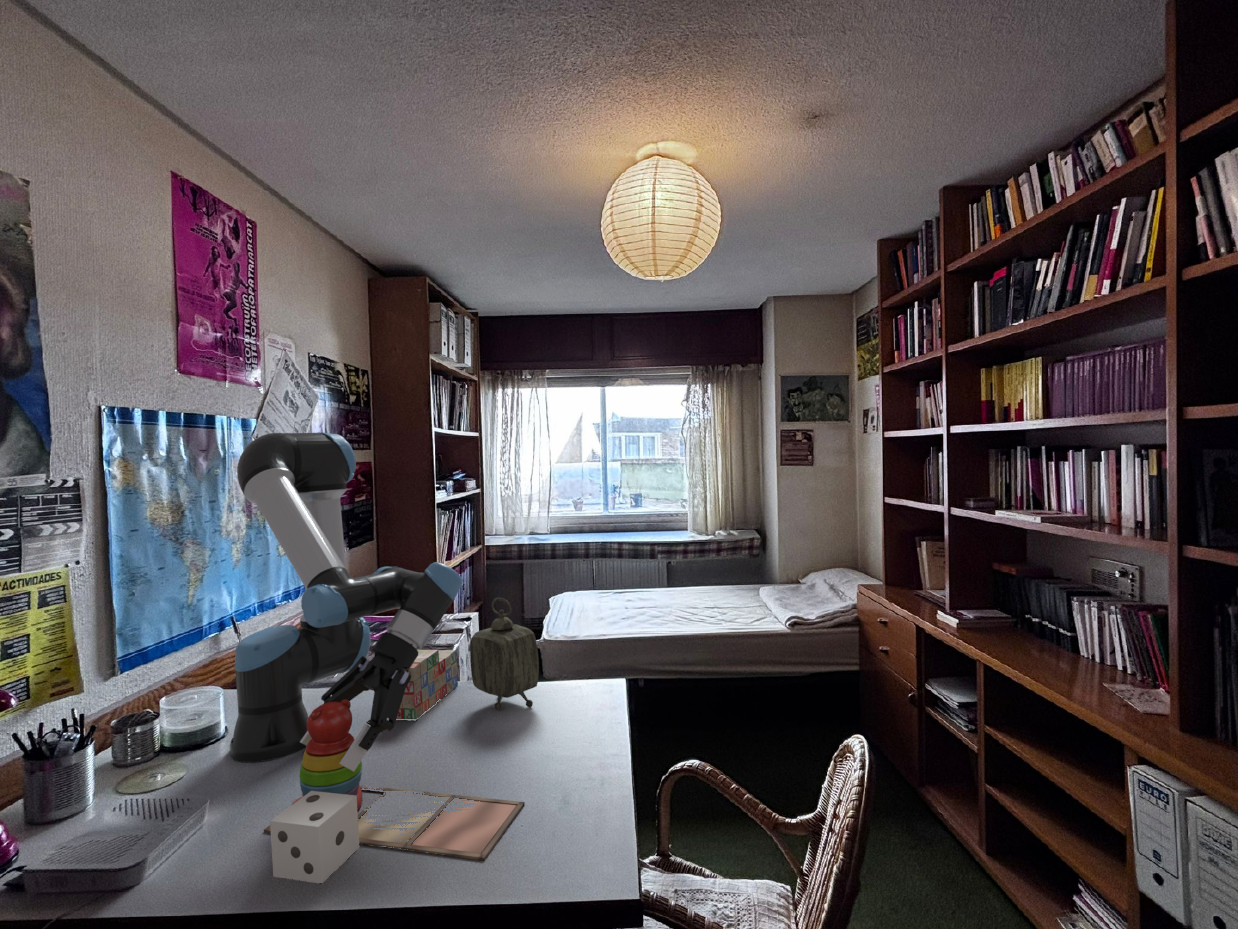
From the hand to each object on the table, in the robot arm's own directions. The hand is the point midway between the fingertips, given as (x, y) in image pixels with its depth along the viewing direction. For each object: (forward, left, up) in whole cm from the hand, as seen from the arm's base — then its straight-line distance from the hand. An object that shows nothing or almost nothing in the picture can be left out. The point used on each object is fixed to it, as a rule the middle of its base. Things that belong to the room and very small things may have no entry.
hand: (325, 756), depth 104 cm
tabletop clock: (+10, +46, -10) cm, 48 cm away
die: (+7, -11, -10) cm, 16 cm away
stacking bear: (0, +1, -10) cm, 10 cm away
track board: (+12, +1, -10) cm, 15 cm away
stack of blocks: (-10, +46, -10) cm, 48 cm away
